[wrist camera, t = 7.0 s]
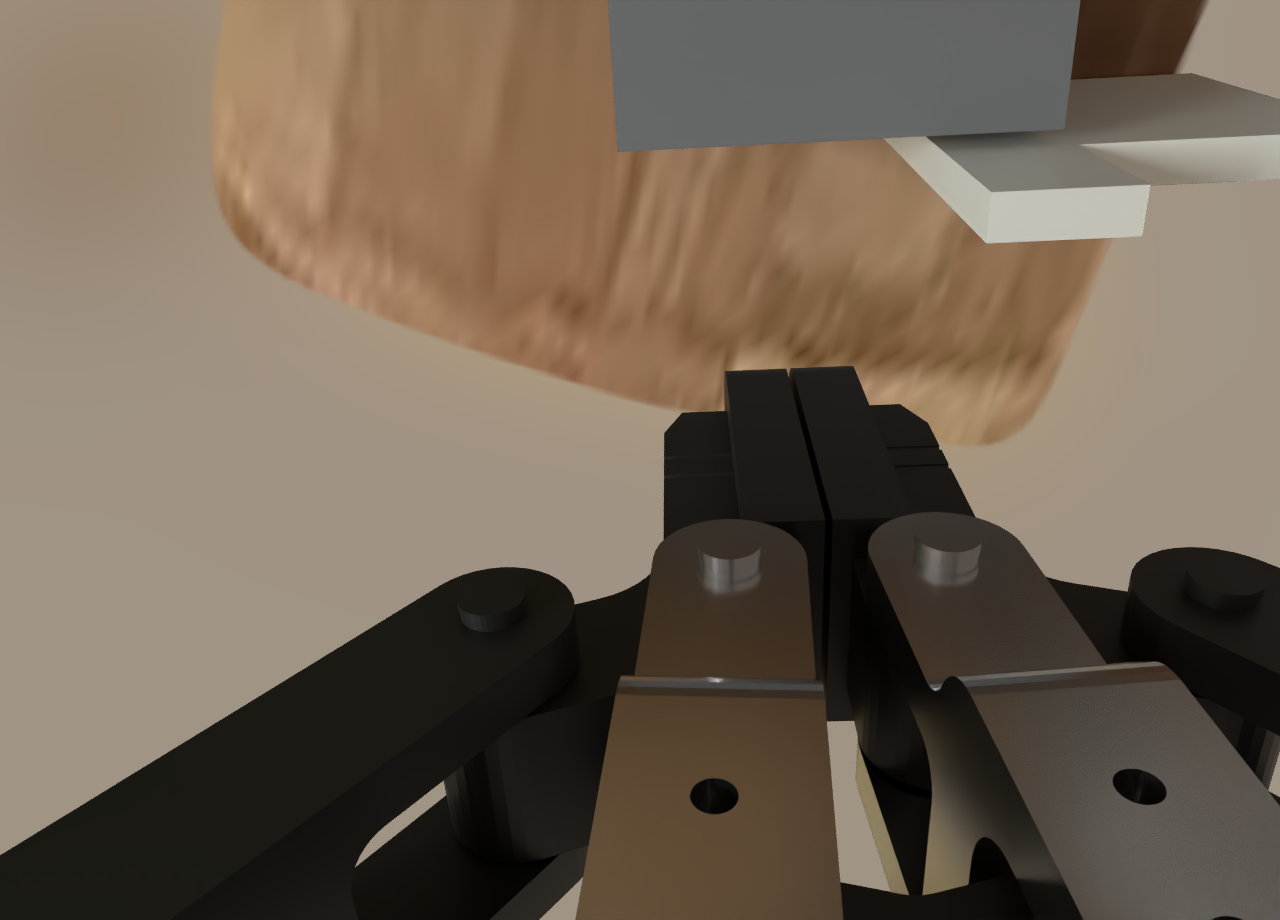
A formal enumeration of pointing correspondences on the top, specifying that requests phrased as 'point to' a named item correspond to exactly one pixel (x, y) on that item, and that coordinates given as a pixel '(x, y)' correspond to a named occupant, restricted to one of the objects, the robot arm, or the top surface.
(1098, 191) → the side door
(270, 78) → the top surface
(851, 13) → the camera housing
